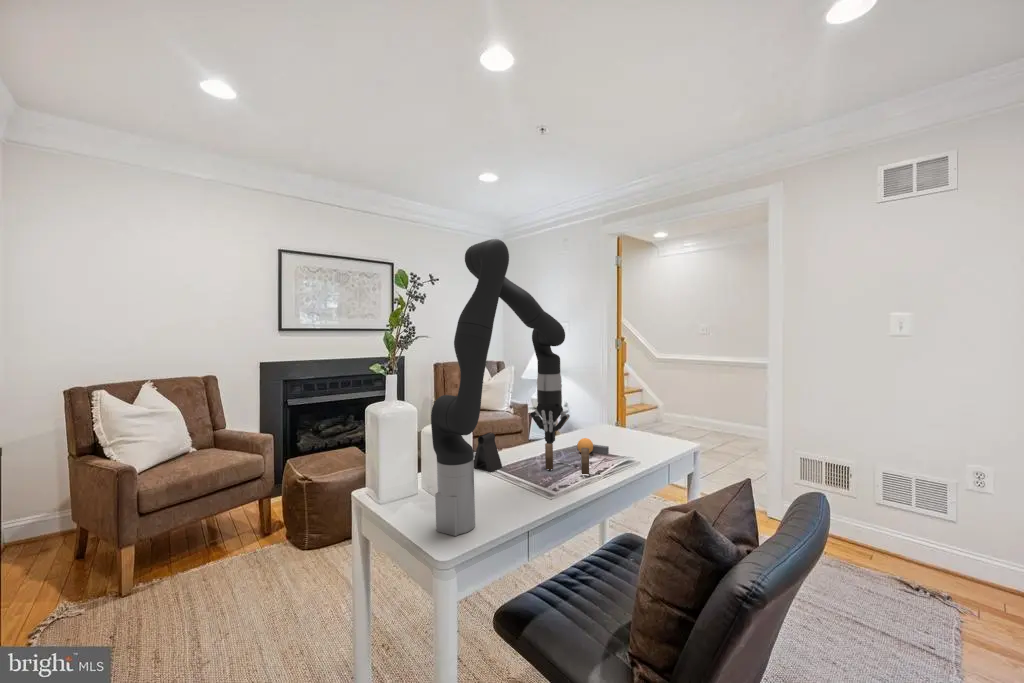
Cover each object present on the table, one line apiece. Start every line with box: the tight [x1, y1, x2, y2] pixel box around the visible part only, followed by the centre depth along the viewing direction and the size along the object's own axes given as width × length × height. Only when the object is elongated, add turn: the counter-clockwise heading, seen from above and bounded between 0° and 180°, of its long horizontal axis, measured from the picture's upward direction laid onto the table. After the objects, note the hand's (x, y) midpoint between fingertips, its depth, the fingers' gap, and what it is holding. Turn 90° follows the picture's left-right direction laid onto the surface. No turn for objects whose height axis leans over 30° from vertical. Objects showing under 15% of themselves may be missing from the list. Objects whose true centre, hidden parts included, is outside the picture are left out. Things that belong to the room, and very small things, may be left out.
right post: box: [580, 448, 590, 475], centre depth 143 cm, size 3×3×9 cm
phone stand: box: [474, 432, 503, 473], centre depth 152 cm, size 9×6×12 cm, turn 55°
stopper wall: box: [576, 443, 609, 455], centre depth 169 cm, size 2×12×2 cm, turn 60°
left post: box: [544, 442, 554, 470], centre depth 149 cm, size 3×3×9 cm
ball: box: [577, 437, 594, 454], centre depth 166 cm, size 6×6×6 cm
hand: (550, 443), depth 134 cm, fingers closed
